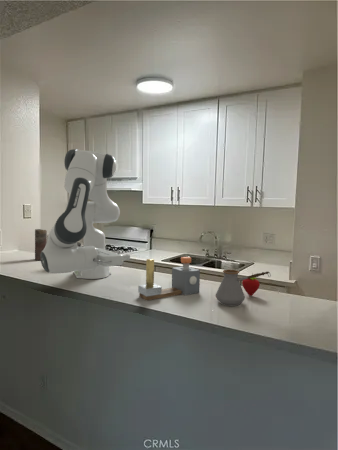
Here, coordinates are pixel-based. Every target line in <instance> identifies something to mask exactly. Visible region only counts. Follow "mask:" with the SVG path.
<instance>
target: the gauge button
mask: <svg viewBox="0 0 338 450" xmlns="http://www.w3.org/2000/svg"><path fill="white" fill-rule="evenodd" d="M180 263H182V266H183V270H189V267H190V263H191V264H192V257H190V256H181V257H180Z"/></svg>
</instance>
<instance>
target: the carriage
mask: <svg viewBox="0 0 338 450" xmlns="http://www.w3.org/2000/svg"><path fill="white" fill-rule="evenodd" d="M145 260H146V263H145V264H146V265H145V267H146V268H145V283H143V284H138V285H137V287H138V289H137V290H138V291H137V293H138V294H139V293H141V294H143V295H145V296H146V297H147V296H153V295H159V294H161V290H162V289H163V288H162V286H161V285H159V284H157V283H155V259H154V258H148V259H145Z"/></svg>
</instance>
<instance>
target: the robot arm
mask: <svg viewBox="0 0 338 450" xmlns="http://www.w3.org/2000/svg"><path fill="white" fill-rule="evenodd" d="M63 159H64V160H63V162H64V168H65V170H66V171H67V172H66V174H65V178H64V186H63V187H64V189H65V191H66V192H67V193H68V194H69V197H68V201H67V204H66V208H65V211H64V212H62V214H61V215H60V216H58V218H57V220H56V221H55V223H54V225H52V227H51V229H50V230H49V232H48V234H47V235H48V236H47V243H46V246H45V248H44V249H43V251H42V252H41V255H40V257H41V260H40V264H41V266H42V268H43V269H44V271H45V272H46V273H50V274H66V273H69V274H70V273H72V272H73V274H74V275H75V278H76V279H84V280H85V279H88V280H97V279H103V278H106V277H109V276H110V275H112V272H111V271H110V267H117V266H118V267H119V266H122V265H124V261H129V260H131V255H130V254H120V251H118V250H117V251H116V250H115V251H112V250H108V249H106V234H105V232H103V231H102V230H101V229H98V228H96V227H95V226H94V224H98V223H99V224H103V223H104V224H108V223H115V222H117V221H118V219H119V218H120V214H121V209H120V207H119V206H118V204H117V203H116V202H114V200H112V199H111V198H110V197H109V194H108V191H107V189H108V188H107V179H111V178H112V177H114V175H115V173H116V171H117V161H116V159H115V157H114V156H113V155H111V154H109V153H103V152H99V151H93V150H83V149H76V148H74V149H73V148H72V149H69V150H68V151H67V152H66V153H65V156H64V158H63ZM88 200H90V201H88ZM81 240H83V241H82V242H83V246H82V245H81V247H79V246H78V245H77V242H79V241H81Z"/></svg>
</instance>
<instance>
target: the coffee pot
mask: <svg viewBox="0 0 338 450" xmlns="http://www.w3.org/2000/svg"><path fill="white" fill-rule="evenodd" d="M222 273H223V275H224V276H223V277H222V280H221V282H220V284H219V286H218V289H217V291H216V292H215V298H216V300H217V301H218V302H219V303H220V304H221V305H223V306H229V307H236V306H239V305H240V304H242V303H243V302H244V301H245V300H246V299H245V298H246V296H245V293H244V290H243V287H242V286H241V283H240V282H241V281H243V280H245V279H249V278H254V277H255V278H260V277H261V276H264V275H267V276H268V277H272V275H271V273H270V272H269V271H265V272H264V271H262V272H260V273H258V272H257V273H253V275H252V274H251V275H247V276H244V277H238V275H239V274H240V271H239V270H237V269H224V270H222Z"/></svg>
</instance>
